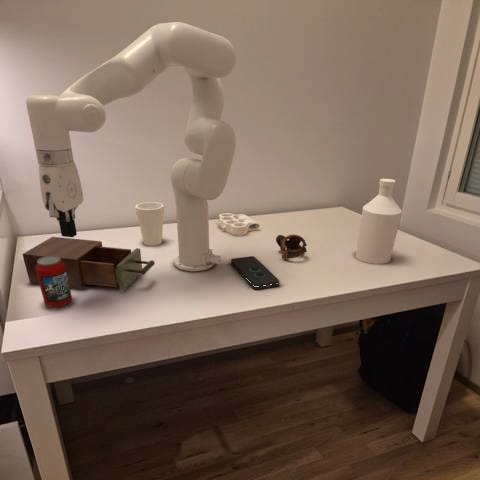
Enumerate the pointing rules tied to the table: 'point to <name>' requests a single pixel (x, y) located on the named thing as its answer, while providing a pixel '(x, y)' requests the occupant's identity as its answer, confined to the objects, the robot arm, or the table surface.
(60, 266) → the beverage can
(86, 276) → the drawer
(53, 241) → the cabinet
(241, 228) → the white multi well tray
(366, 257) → the bottle
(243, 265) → the black flat slab
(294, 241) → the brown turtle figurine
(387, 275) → the table surface
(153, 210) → the foam cup
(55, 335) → the table surface
